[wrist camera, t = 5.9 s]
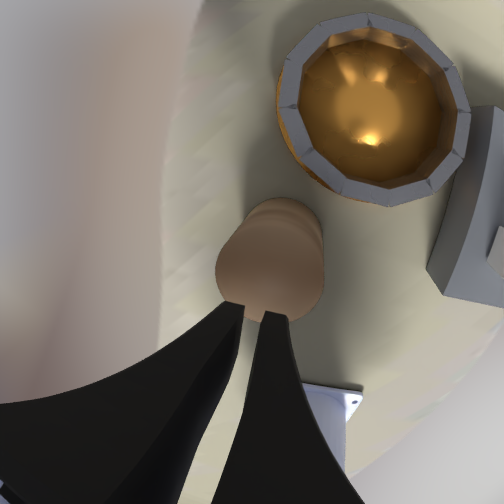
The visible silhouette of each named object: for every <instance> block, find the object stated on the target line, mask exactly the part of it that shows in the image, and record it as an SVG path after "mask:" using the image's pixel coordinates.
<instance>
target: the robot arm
mask: <svg viewBox="0 0 504 504" xmlns="http://www.w3.org/2000/svg"><path fill="white" fill-rule="evenodd" d="M244 311H245V305H241V304H237V303H233V302H228V301H224V302H222V303H221V304H220V305H219V306H218V307H216V308H215V309H214V310H213V311H212V312H211V313H209V314H208V315H207V316H206V317H205V318H203V319H202V320H201V321H200V322H198V323H197V324H196V325H194V326H193V327H192V328H190V329H189V330H188V331H186V332H185V333H184V334H182V335H181V336H180V337H178V338H177V339H175V340H174V341H172V342H171V343H169V344H168V345H166V346H165V347H163V348H162V349H160V350H159V351H157V352H155V353H154V354H152V355H151V356H149V357H147V358H145V359H144V360H142V361H140V362H138V363H136V364H134V365H133V366H131V367H128V368H126V369H124V370H123V371H120V372H118V373H116V374H114V375H111V376H109V377H107V378H104V379H102V380H100V381H97V382H95V383H92V384H89V385H86V386H84V387H81V388H77V389H74V390H70V391H67V392H63V393H60V394H56V395H53V396H49V397H44V398H40V399H34V400H27V401H21V402H13V403H6V404H5V403H4V404H0V504H177V503H178V500H179V497H180V494H181V491H182V489H183V486H184V483H185V480H186V477H187V475H188V472H189V469H190V466H191V464H192V461H193V458H194V456H195V453H196V450H197V447H198V445H199V443H200V441H201V438H202V436H203V434H204V432H205V430H206V428H207V426H208V424H209V422H210V420H211V418H212V416H213V414H214V411H215V409H216V407H217V405H218V403H219V401H220V399H221V397H222V395H223V393H224V390H225V388H226V386H227V384H228V382H229V379H230V376H231V373H232V370H233V367H234V364H235V361H236V358H237V355H238V349H239V343H240V336H241V330H242V323H243V317H244ZM362 399H363V393H362V392H359V391H351V390H343V389H336V388H330V387H323V386H317V385H312V384H306V383H302V382H301V379H300V375H299V372H298V368H297V365H296V361H295V357H294V353H293V349H292V344H291V339H290V332H289V319H288V317H287V316H286V315H284V314H280V313H275V312H271V311H266V310H265V313H264V316H263V318H262V321H261V324H260V329H259V334H258V339H257V344H256V348H255V353H254V358H253V363H252V367H251V372H250V377H249V382H248V386H247V392H246V397H245V403H244V408H243V413H242V416H241V419H240V422H239V426H238V429H237V432H236V435H235V438H234V441H233V444H232V447H231V450H230V452H229V455H228V458H227V461H226V464H225V467H224V470H223V472H222V475H221V478H220V481H219V483H218V486H217V489H216V492H215V494H214V497H213V500H212V502H211V504H365V503H364V502H363V500H362V499H361V498H360V496H359V495H358V493H357V492H356V490H355V489H354V488H353V486H352V485H351V483H350V482H349V480H348V478H347V477H346V475H345V473H344V472H345V443H346V422H347V421H348V419H349V418H350V417H351V415H352V414H353V412H354V411H355V409H356V408H357V407H358V405H359V404H360V402H361V401H362Z"/></svg>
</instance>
